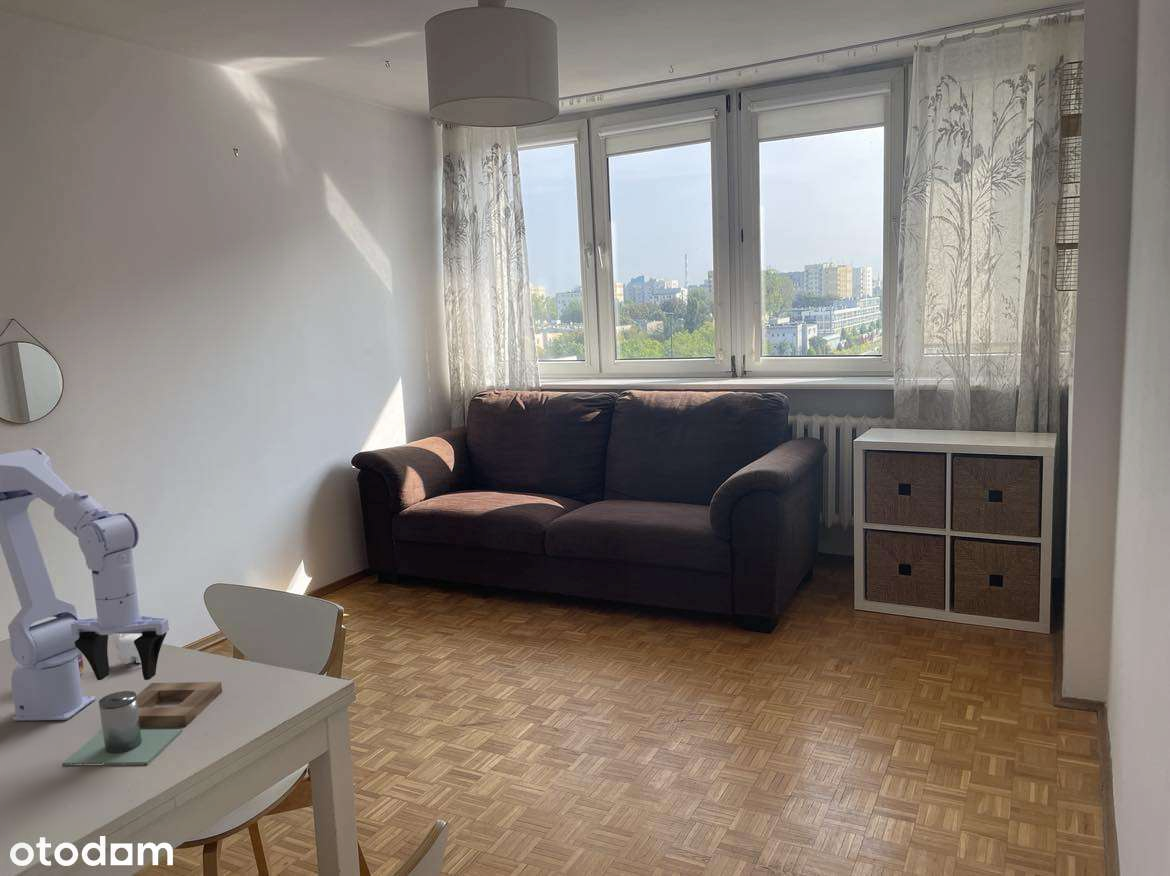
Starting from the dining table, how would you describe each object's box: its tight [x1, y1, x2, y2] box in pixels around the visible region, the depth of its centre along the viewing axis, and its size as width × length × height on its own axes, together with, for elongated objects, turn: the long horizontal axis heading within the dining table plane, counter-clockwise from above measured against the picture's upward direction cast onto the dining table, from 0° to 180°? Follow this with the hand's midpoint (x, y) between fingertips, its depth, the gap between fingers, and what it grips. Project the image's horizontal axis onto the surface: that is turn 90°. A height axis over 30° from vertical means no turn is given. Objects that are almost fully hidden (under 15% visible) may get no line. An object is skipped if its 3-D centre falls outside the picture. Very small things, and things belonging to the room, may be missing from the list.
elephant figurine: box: [114, 633, 142, 665], centre depth 168 cm, size 7×8×6 cm
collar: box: [136, 681, 223, 728], centre depth 147 cm, size 12×12×2 cm
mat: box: [61, 728, 183, 766], centre depth 135 cm, size 13×10×1 cm
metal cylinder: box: [98, 690, 142, 753], centre depth 134 cm, size 5×5×8 cm
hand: (126, 677), depth 138 cm, fingers open, 7 cm apart
